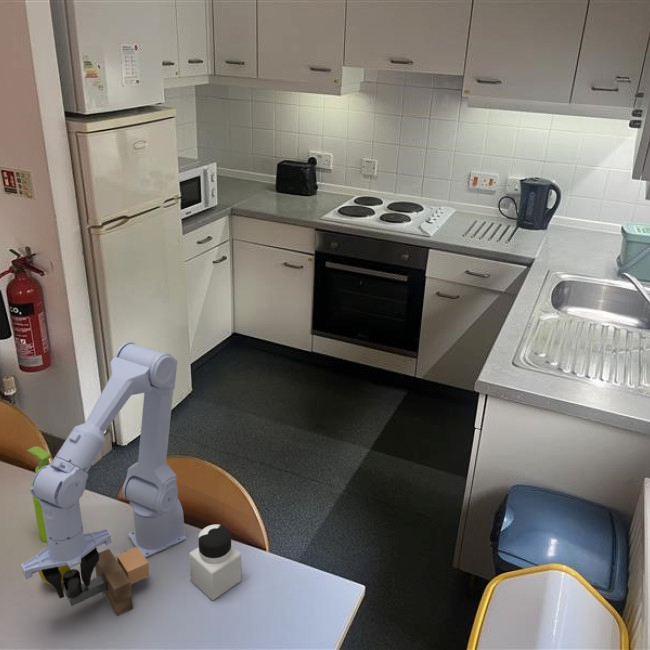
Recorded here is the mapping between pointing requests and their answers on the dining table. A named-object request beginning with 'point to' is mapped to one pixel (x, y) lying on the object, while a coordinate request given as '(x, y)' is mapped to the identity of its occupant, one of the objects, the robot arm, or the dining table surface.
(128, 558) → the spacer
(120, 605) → the bracket
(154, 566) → the dining table surface
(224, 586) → the medicine bottle
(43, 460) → the soap dispenser
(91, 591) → the shaft
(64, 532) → the robot arm
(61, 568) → the lemon
